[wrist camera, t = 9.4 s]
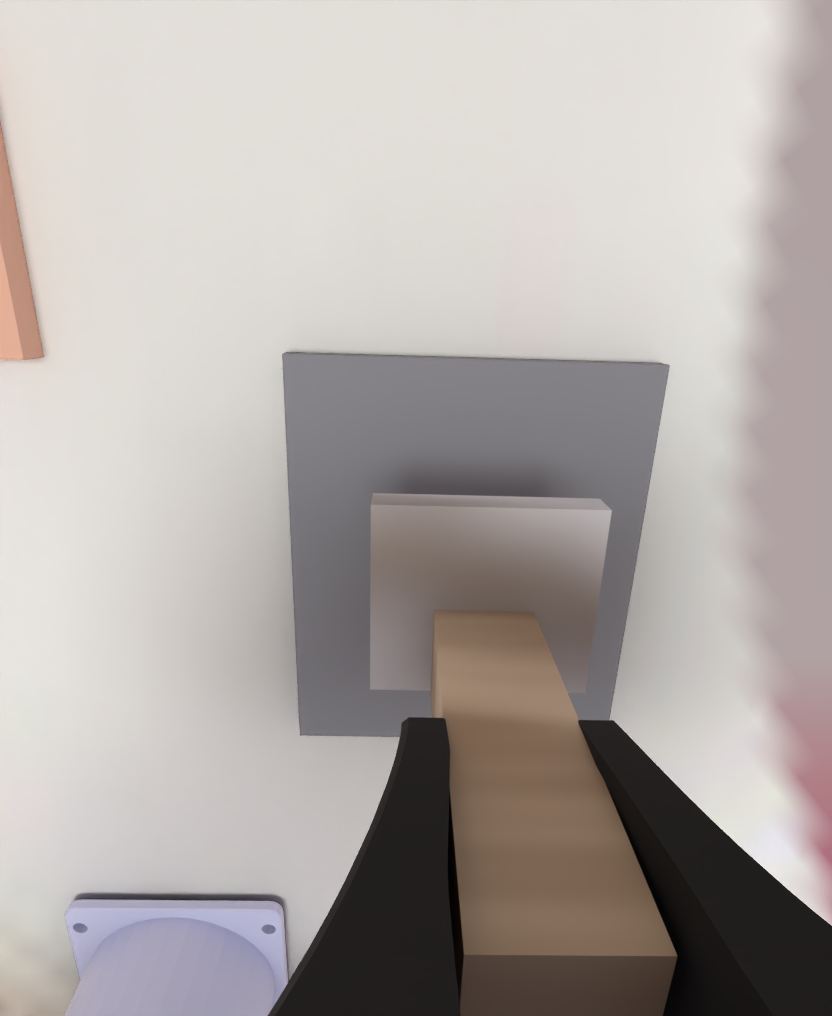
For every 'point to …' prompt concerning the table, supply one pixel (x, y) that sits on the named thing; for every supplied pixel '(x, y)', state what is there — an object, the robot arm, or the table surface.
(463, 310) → the table surface
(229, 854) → the table surface
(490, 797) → the grey square paddle
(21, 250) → the tile
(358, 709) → the mat
